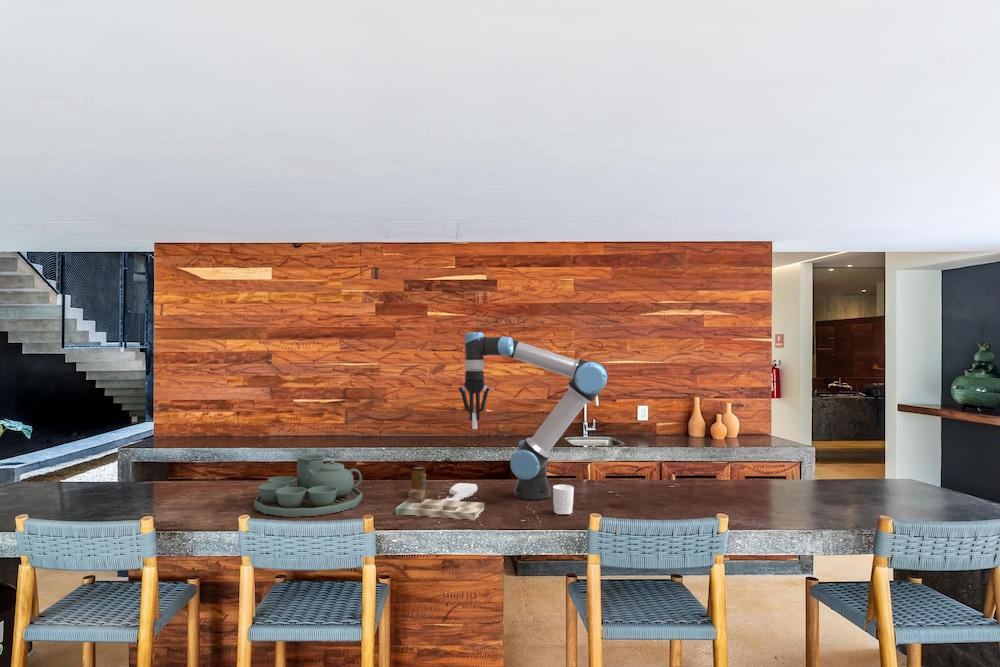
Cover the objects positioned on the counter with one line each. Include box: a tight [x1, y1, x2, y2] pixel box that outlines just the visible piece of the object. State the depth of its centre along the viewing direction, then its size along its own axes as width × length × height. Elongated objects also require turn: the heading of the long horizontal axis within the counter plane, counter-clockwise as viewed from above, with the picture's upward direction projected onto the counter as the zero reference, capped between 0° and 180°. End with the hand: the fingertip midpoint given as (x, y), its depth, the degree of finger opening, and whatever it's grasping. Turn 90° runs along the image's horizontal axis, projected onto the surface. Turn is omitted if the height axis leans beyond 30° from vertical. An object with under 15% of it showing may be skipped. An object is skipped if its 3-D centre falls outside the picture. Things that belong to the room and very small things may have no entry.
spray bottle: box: [441, 482, 478, 501], centre depth 255 cm, size 3×11×24 cm
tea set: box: [253, 453, 363, 516], centre depth 239 cm, size 40×40×16 cm
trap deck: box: [395, 498, 485, 521], centre depth 230 cm, size 30×15×2 cm, turn 79°
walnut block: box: [408, 489, 426, 503], centre depth 235 cm, size 5×5×4 cm
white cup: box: [552, 484, 575, 514], centre depth 229 cm, size 8×8×10 cm
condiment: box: [410, 466, 427, 496], centre depth 252 cm, size 7×8×12 cm
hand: (474, 428), depth 248 cm, fingers closed
